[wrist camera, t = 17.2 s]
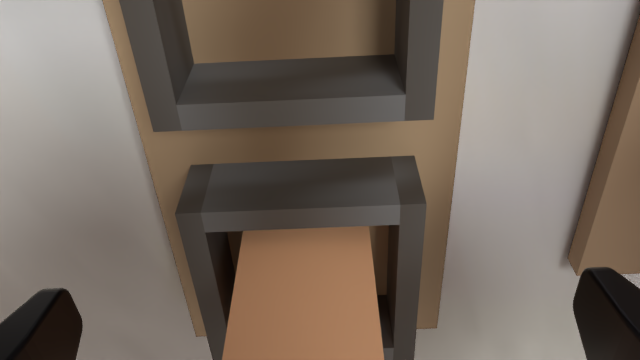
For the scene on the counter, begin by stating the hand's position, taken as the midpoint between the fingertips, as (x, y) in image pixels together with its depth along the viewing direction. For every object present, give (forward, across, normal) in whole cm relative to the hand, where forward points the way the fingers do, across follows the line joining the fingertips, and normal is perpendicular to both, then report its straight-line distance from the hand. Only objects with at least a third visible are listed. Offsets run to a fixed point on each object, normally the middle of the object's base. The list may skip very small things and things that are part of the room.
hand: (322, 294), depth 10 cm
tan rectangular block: (+5, +1, +4) cm, 6 cm away
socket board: (+7, +1, 0) cm, 7 cm away
